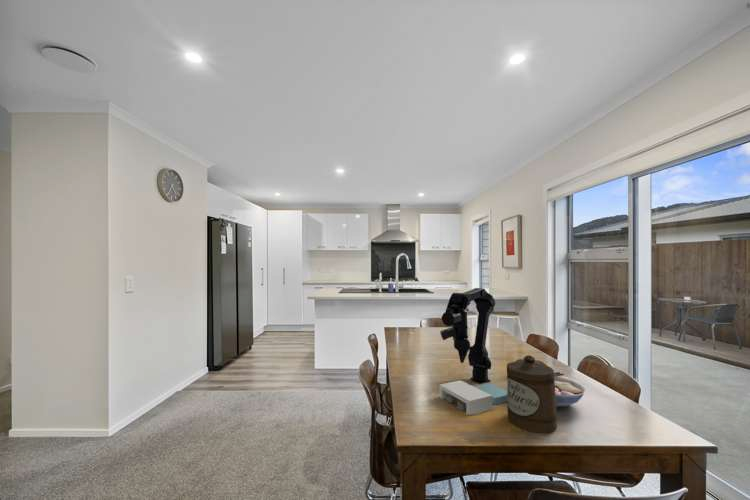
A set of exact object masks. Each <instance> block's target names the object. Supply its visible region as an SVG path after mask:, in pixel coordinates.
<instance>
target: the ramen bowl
mask: <svg viewBox="0 0 750 500" xmlns="http://www.w3.org/2000/svg"><path fill="white" fill-rule="evenodd" d="M562 376H565V374H564V373H561V372H560V371H556V372H554V382H555V396H556V408H559V407H567V406H571V405H574V404H577V403H578V402H579V401H580V400H581V399H582V397H583V396H584V394H585V392H586V390H587V389H586V388H585V386H584V385H582V384H581V383H579V382H577V381H574V380H572V379H569V378H566V377H562Z"/></svg>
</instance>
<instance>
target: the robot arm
mask: <svg viewBox="0 0 750 500" xmlns="http://www.w3.org/2000/svg"><path fill="white" fill-rule="evenodd" d="M472 301H473V302H474V303H475V308H476V311H477V312H478V315H477V323H476V329H475V330H476V331H475V335H474V336H475V338H474V343H473V345H471V342H470V340H469V335H468V330H469V328H468V327H469V326H468V312H469V311H470V310H469V309H470V308H468V307H469V306H470V304H471V302H472ZM495 306H496V300H495V299H494V296H493V295H492V294H491V293H489V292H487V291H486V289H485V288H482V287H481V288H480V287H479V288H478V287H475V288H473V289H470V290H467V291H465V292H453V293H451V295H450V297H449V300H448V303H447V306H446V309H445V312H443V314H442V315H441V321H442V324H444V325H445V326H446V327H449V328H446V329H443V330H440V332H439V334H440V336H441V339H442V340H443V341H445V340H447V339H450V338H452V340H453V348H454V349H455V350H456V351H457V352H458V358H459V362H460V364H464V363H465V359H466V357H467V359H468V365H469V366H470V367H472V370H471V371H472V372H471V373H472V377H470V380H472V381H474V382H476V383H478V384H483V383H489V382H491V379H489V373H488V372H489V370H491V369H492V361H491V360H490V358H489V351H488V349H487V347H486V343H487V336H488V335H487V334H488V328H489V327H488V326H489V319H490V315H492V313H493V312H494V309H495Z"/></svg>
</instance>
